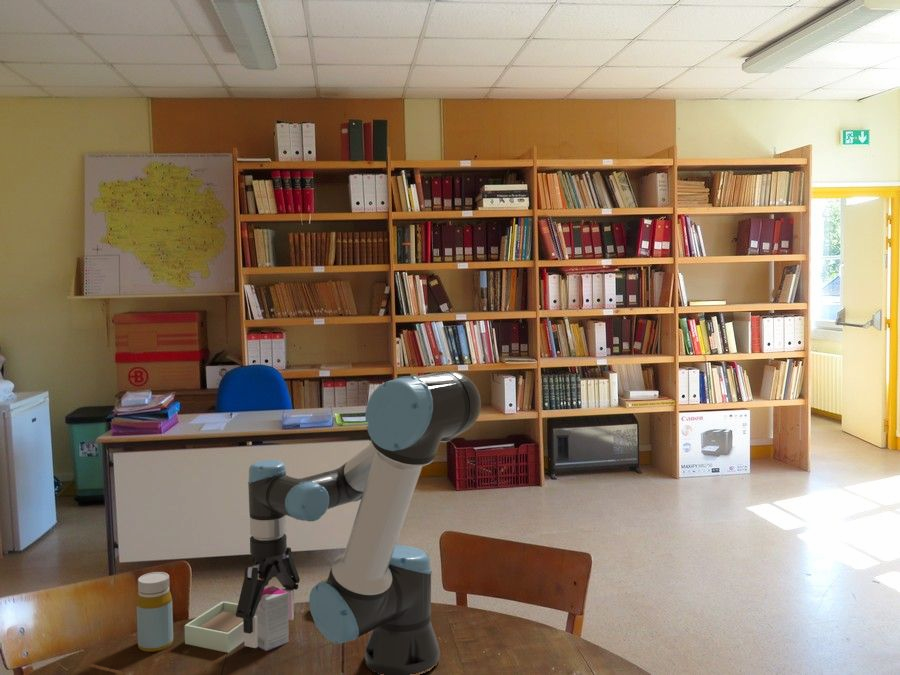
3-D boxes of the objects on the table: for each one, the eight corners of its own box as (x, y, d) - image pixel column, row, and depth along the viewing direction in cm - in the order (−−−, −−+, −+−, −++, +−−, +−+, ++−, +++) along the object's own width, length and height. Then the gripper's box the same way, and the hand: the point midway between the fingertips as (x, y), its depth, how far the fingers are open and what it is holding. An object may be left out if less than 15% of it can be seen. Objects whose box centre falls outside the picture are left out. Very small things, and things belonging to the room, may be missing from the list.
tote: (264, 628, 175) (264, 608, 174) (228, 654, 163) (227, 633, 162) (223, 620, 179) (222, 601, 178) (185, 645, 167) (184, 625, 166)
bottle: (161, 655, 162) (159, 585, 161) (131, 652, 164) (128, 582, 163) (179, 640, 169) (177, 572, 168) (150, 637, 171) (148, 570, 169)
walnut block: (250, 629, 173) (249, 616, 173) (227, 645, 166) (227, 631, 166) (223, 624, 176) (223, 611, 175) (200, 639, 168) (200, 626, 168)
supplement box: (289, 644, 168) (289, 592, 167) (266, 654, 163) (265, 600, 162) (274, 635, 171) (273, 584, 170) (250, 644, 167) (249, 592, 166)
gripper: (285, 515, 178) (287, 605, 180) (215, 552, 155) (218, 655, 157) (314, 519, 176) (315, 610, 177) (248, 557, 152) (250, 662, 154)
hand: (270, 632), depth 167 cm, fingers open, 13 cm apart
